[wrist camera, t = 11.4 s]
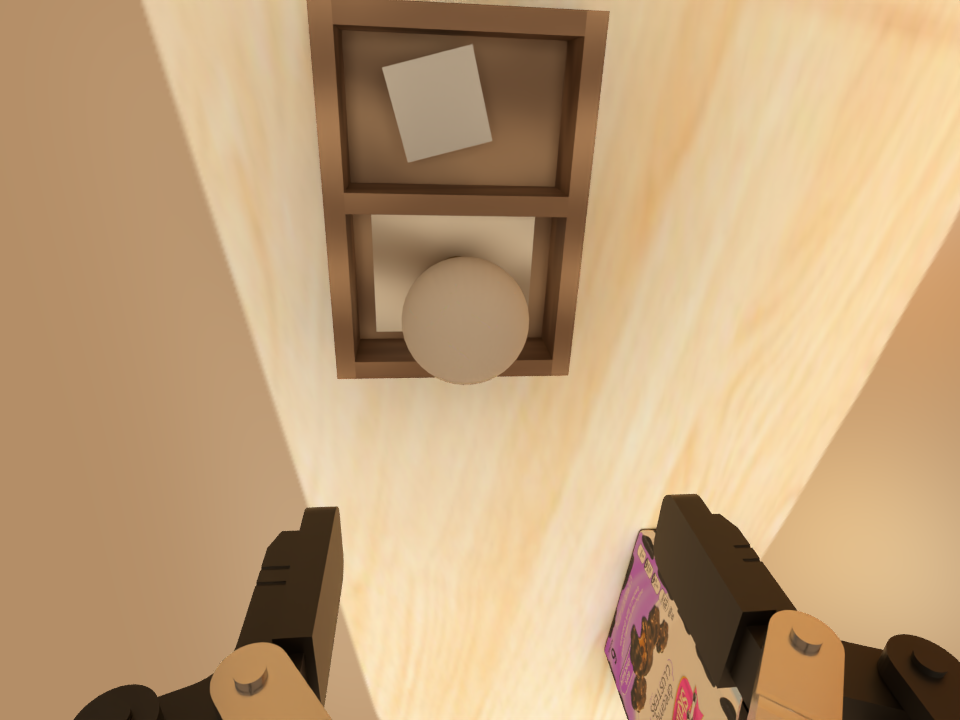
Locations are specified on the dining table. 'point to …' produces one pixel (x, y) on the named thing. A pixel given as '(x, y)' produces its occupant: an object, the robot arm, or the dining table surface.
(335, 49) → the box
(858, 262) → the dining table surface
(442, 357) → the light bulb
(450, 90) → the grey cube
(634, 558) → the candy box
